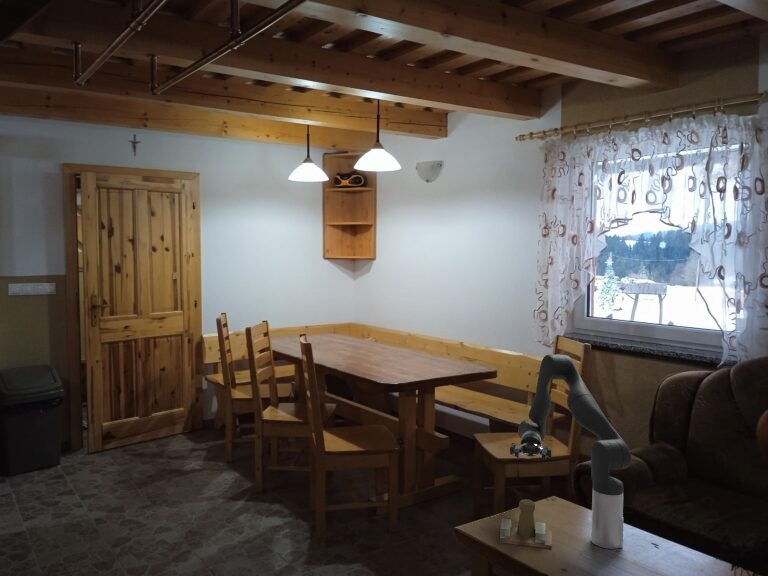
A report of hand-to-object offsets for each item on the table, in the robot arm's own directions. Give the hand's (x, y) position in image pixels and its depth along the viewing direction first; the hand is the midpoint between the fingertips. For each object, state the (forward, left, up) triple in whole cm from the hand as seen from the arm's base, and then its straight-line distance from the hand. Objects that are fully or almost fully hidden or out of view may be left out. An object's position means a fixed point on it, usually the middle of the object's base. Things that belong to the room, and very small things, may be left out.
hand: (530, 456), depth 213 cm
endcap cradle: (+2, +15, -22) cm, 27 cm away
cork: (+1, +14, -22) cm, 25 cm away
